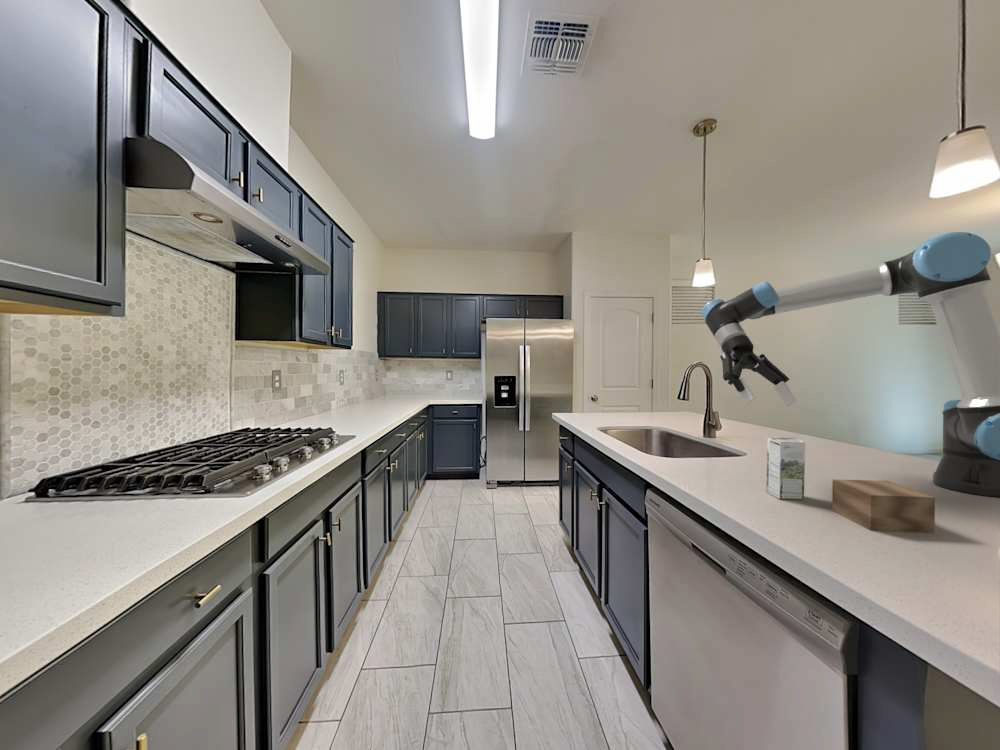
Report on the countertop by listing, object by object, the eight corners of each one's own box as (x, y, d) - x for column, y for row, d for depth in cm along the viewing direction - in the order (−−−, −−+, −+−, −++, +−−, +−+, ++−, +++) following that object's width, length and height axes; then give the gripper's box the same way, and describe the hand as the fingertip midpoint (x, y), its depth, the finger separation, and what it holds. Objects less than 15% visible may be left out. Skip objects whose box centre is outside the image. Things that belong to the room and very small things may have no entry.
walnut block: (887, 512, 88) (887, 480, 87) (934, 533, 77) (934, 497, 76) (832, 510, 89) (832, 479, 89) (870, 530, 78) (871, 495, 78)
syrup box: (789, 493, 101) (790, 436, 101) (805, 500, 95) (805, 440, 95) (766, 492, 102) (766, 436, 102) (780, 500, 96) (780, 440, 96)
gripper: (758, 354, 123) (796, 412, 110) (690, 347, 116) (722, 408, 103) (777, 337, 117) (819, 396, 104) (706, 329, 111) (742, 391, 98)
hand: (771, 402), depth 104 cm, fingers open, 13 cm apart
